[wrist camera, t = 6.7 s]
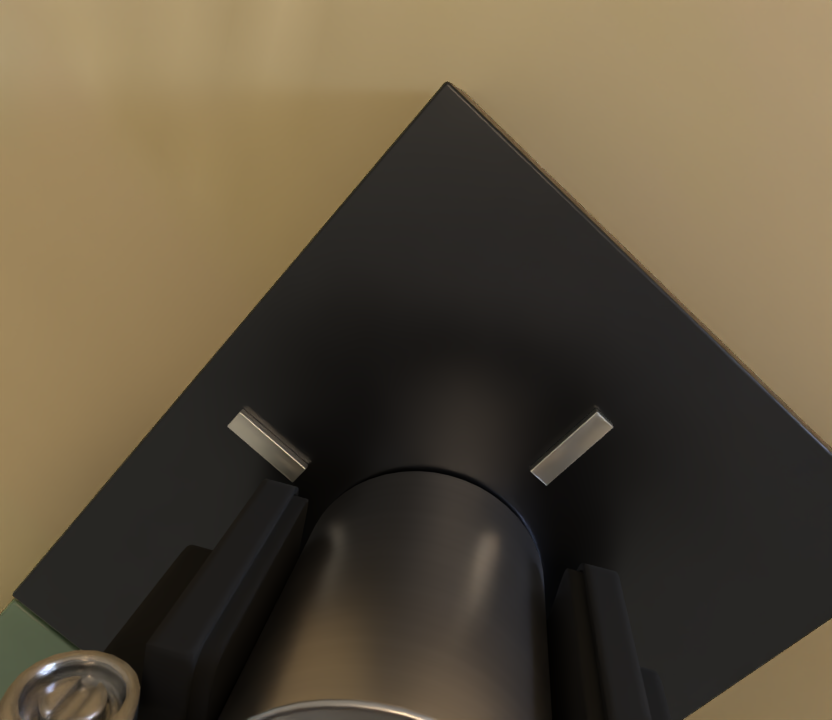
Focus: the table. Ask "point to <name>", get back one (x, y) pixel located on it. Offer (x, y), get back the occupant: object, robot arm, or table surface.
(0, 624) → the button housing
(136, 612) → the robot arm
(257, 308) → the control panel
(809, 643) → the table surface
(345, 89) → the table surface
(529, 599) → the dial
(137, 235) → the table surface
